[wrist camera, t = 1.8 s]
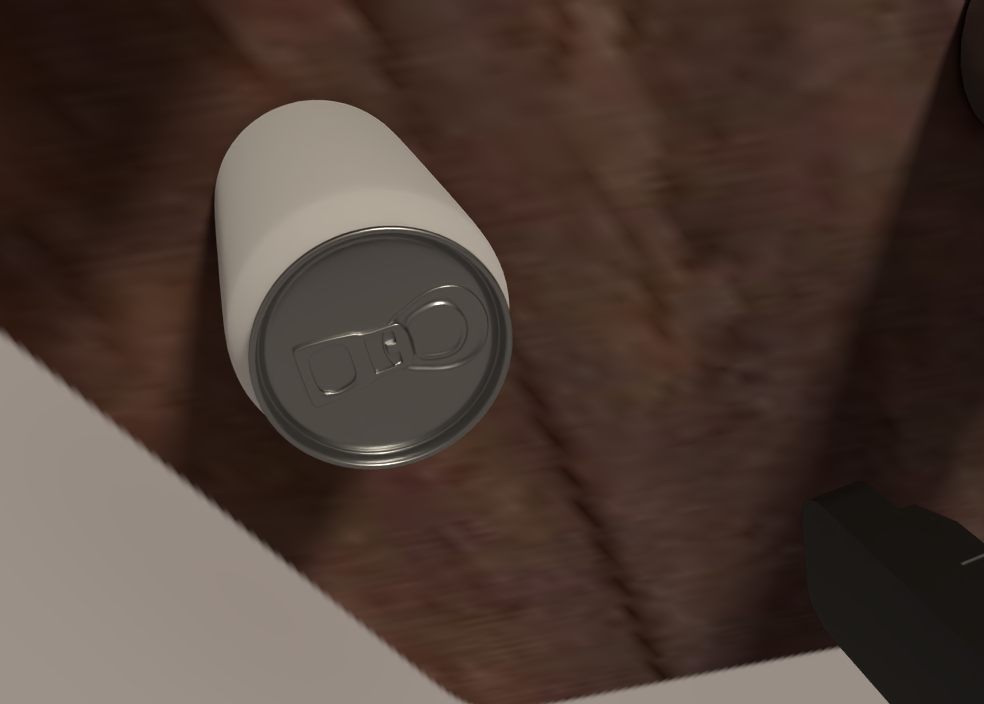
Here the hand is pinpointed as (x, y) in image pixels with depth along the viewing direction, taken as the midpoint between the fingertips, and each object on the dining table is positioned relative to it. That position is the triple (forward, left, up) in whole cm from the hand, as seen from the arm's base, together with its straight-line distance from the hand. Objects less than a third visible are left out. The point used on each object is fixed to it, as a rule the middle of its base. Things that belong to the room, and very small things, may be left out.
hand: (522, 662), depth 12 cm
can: (0, 0, -21) cm, 21 cm away
